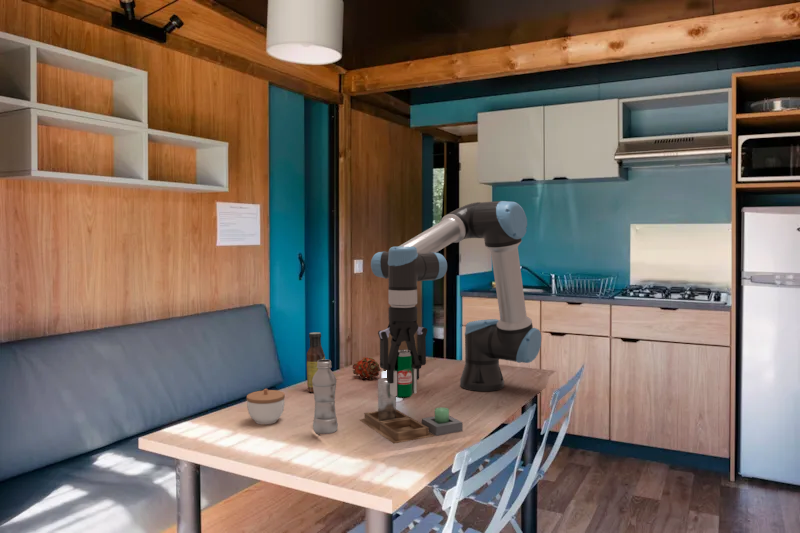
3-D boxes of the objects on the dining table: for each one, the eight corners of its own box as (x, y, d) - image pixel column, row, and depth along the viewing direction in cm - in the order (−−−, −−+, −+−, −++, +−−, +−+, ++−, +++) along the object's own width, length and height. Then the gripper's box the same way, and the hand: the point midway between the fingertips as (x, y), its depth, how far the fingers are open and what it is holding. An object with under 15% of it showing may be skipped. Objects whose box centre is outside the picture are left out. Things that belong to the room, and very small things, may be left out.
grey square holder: (446, 426, 171) (446, 414, 170) (462, 435, 163) (462, 422, 163) (421, 431, 167) (421, 418, 167) (436, 440, 160) (436, 426, 160)
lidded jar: (292, 417, 180) (291, 386, 179) (272, 428, 170) (272, 395, 169) (260, 414, 184) (259, 383, 183) (239, 425, 173) (238, 392, 173)
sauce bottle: (327, 392, 208) (327, 333, 207) (309, 394, 206) (308, 335, 204) (323, 387, 214) (322, 331, 213) (305, 389, 212) (304, 332, 211)
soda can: (395, 399, 158) (395, 353, 158) (391, 394, 163) (391, 349, 163) (414, 398, 160) (414, 352, 159) (410, 393, 164) (410, 348, 164)
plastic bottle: (327, 440, 160) (326, 364, 159) (307, 435, 164) (306, 361, 163) (342, 433, 166) (341, 359, 165) (323, 429, 169) (322, 357, 168)
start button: (444, 418, 168) (444, 406, 167) (451, 422, 164) (451, 410, 164) (432, 420, 166) (432, 408, 166) (439, 424, 162) (439, 412, 162)
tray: (396, 417, 179) (396, 406, 179) (434, 440, 160) (434, 428, 159) (358, 423, 174) (358, 412, 173) (393, 448, 154) (393, 435, 154)
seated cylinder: (391, 418, 174) (390, 376, 174) (399, 423, 170) (399, 380, 169) (375, 421, 172) (374, 378, 171) (383, 426, 168) (382, 382, 167)
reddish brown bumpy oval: (379, 385, 223) (354, 385, 230) (389, 368, 228) (364, 368, 235) (368, 369, 219) (343, 369, 226) (378, 351, 224) (353, 353, 231)
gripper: (425, 302, 168) (426, 386, 169) (365, 306, 159) (366, 394, 161) (440, 305, 161) (440, 392, 162) (377, 309, 153) (378, 401, 154)
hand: (403, 393), depth 161 cm, fingers closed on soda can, 5 cm apart
